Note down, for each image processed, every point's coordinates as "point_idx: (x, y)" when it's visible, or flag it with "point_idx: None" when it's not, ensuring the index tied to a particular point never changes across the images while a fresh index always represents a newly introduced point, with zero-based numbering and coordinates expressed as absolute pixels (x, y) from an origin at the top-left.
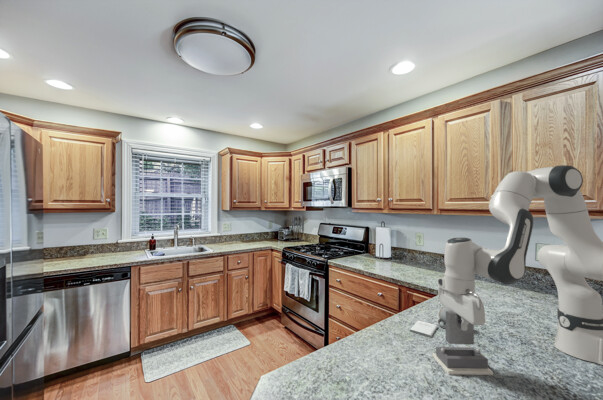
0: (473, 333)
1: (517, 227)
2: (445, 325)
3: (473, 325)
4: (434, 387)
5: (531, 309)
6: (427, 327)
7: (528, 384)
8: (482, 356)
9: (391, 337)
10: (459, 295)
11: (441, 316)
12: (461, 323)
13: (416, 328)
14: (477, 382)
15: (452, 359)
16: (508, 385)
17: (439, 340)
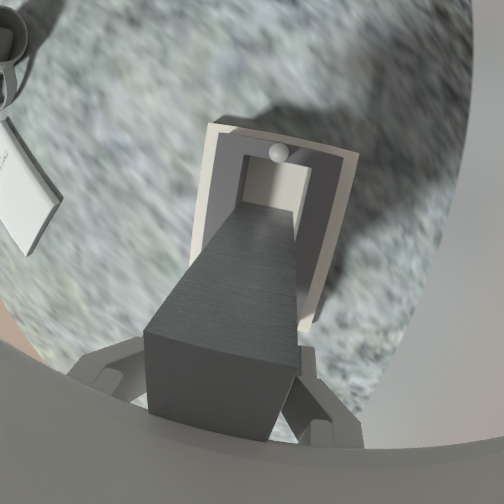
0: (293, 237)
1: None
2: (6, 94)
3: (294, 268)
4: (345, 395)
5: None
6: (8, 174)
7: (426, 74)
8: (315, 162)
9: (77, 342)
10: None
11: None
12: (295, 424)
13: (17, 227)
14: (376, 262)
15: (297, 327)
16: (419, 158)
17: (77, 178)
